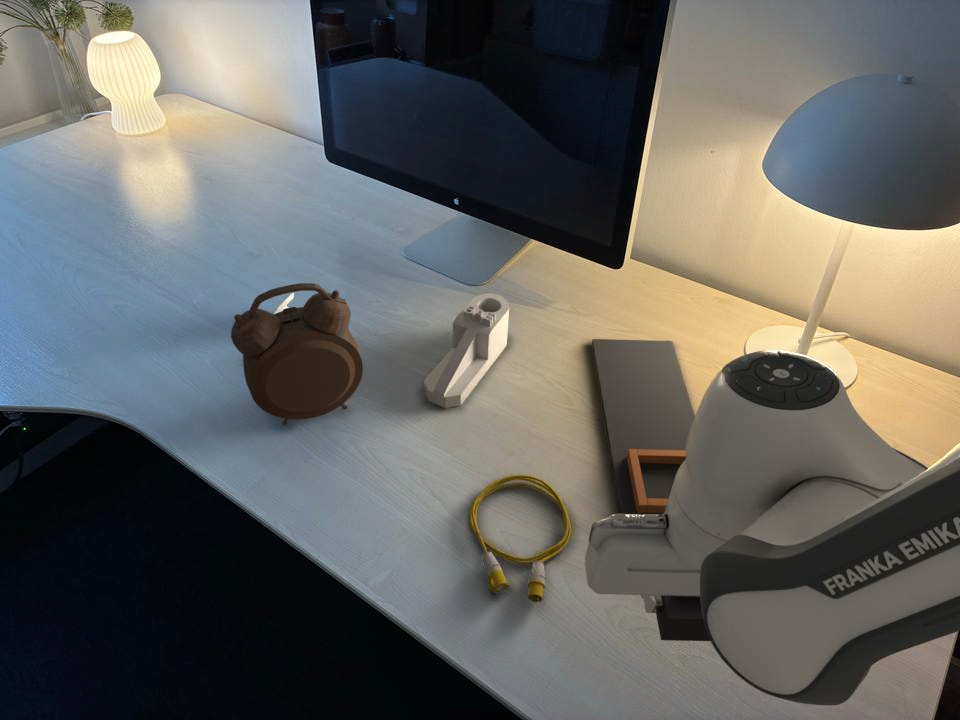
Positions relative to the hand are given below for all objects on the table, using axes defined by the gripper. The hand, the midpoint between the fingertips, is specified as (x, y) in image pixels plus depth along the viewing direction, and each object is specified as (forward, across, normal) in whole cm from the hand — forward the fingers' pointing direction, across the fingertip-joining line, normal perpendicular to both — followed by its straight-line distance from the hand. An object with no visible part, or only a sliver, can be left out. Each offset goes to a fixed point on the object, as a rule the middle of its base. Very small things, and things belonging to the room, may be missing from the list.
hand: (686, 606), depth 64 cm
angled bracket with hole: (+6, -22, +40) cm, 46 cm away
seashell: (+6, -51, +48) cm, 70 cm away
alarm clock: (+6, -43, +31) cm, 53 cm away
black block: (+2, 0, 0) cm, 2 cm away
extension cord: (+7, -16, +12) cm, 21 cm away
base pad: (+6, +3, +30) cm, 31 cm away
